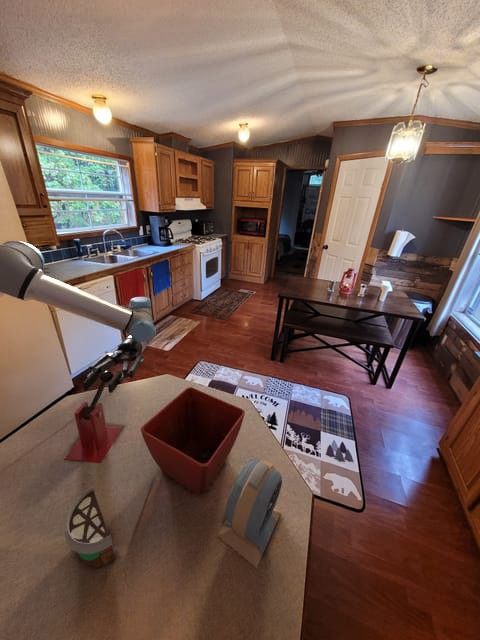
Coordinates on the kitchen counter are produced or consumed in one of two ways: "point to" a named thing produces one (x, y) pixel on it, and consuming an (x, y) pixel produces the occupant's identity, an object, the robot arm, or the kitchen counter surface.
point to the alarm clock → (252, 510)
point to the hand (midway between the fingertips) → (97, 387)
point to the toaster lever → (98, 393)
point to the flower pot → (193, 437)
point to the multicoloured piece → (89, 532)
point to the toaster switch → (92, 436)
